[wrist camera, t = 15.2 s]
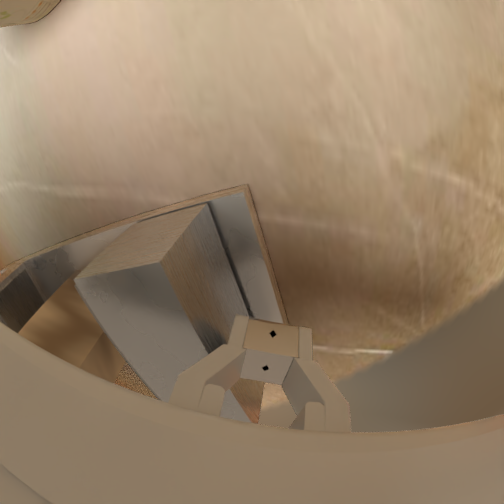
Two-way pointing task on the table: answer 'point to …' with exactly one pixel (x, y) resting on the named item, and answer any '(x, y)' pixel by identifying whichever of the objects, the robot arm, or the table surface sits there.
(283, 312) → the vise base
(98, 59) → the table surface
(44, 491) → the robot arm
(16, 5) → the mug
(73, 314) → the block
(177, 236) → the block
